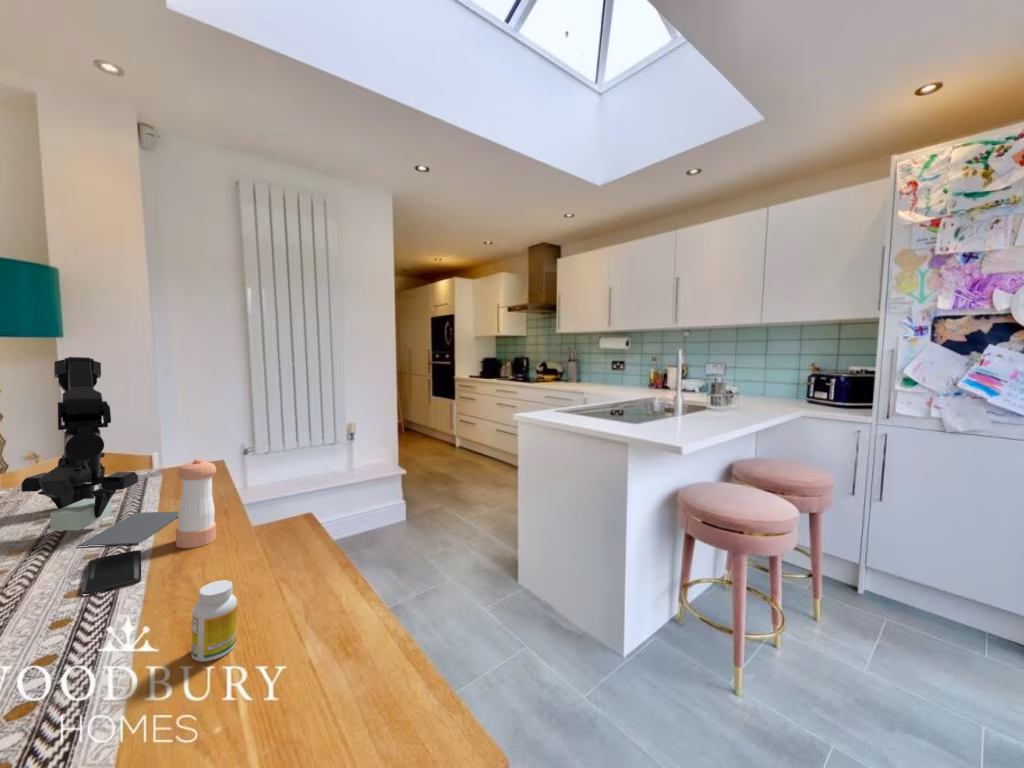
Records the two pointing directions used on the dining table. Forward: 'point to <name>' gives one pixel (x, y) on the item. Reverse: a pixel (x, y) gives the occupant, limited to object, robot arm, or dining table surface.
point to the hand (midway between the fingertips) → (82, 517)
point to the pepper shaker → (196, 505)
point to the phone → (112, 572)
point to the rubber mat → (132, 529)
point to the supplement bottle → (214, 621)
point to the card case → (77, 515)
